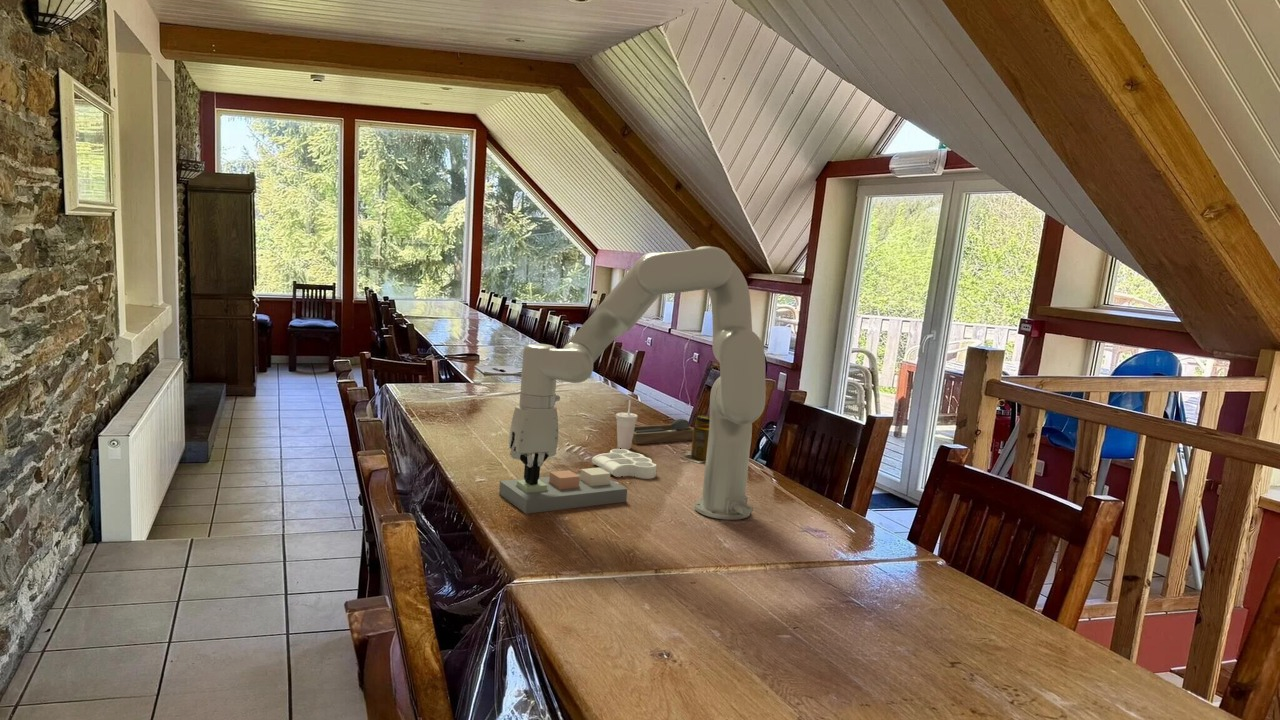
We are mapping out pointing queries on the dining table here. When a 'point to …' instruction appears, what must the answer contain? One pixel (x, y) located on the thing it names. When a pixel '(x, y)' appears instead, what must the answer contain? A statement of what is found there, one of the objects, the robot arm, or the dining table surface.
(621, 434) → the smoothie
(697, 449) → the condiment
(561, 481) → the terracotta button
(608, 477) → the cream button
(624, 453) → the white paint palette
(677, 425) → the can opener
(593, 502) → the button panel
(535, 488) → the sage button
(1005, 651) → the dining table surface
